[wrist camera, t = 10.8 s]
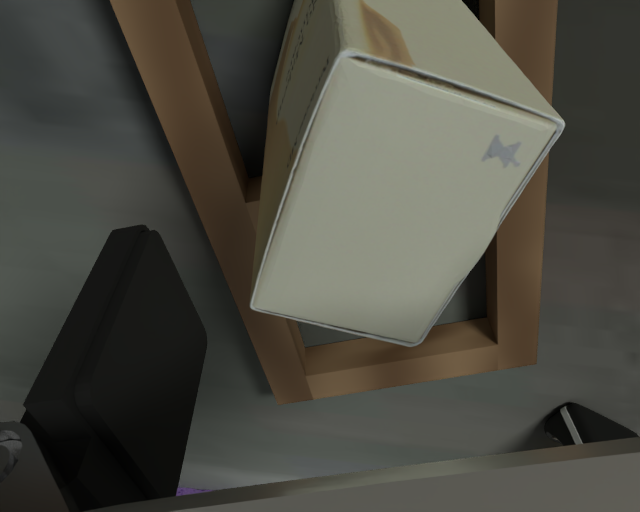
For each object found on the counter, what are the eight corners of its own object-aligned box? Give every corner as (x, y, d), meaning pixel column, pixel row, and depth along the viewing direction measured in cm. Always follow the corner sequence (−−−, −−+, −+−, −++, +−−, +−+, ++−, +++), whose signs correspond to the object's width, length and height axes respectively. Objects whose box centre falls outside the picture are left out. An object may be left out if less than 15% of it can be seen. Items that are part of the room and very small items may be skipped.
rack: (543, -231, 16) (571, -237, 14) (523, 336, 30) (536, 364, 29) (87, -110, 17) (66, -105, 15) (279, 376, 32) (277, 405, 30)
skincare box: (317, -83, 18) (341, 20, 8) (437, -35, 19) (587, 106, 9) (265, 99, 21) (239, 318, 12) (367, 130, 22) (421, 356, 13)
